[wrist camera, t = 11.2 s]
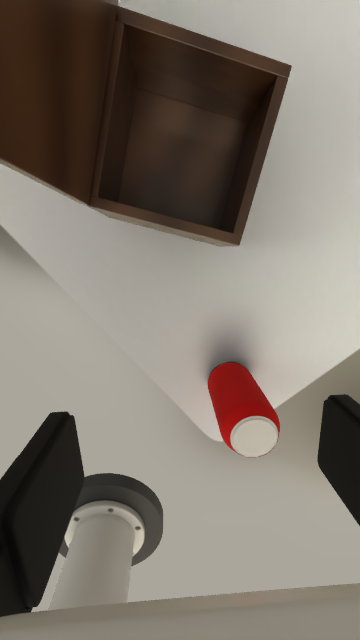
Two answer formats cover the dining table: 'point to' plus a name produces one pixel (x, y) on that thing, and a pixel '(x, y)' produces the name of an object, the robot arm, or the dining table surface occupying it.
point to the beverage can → (242, 411)
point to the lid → (54, 89)
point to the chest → (183, 130)
